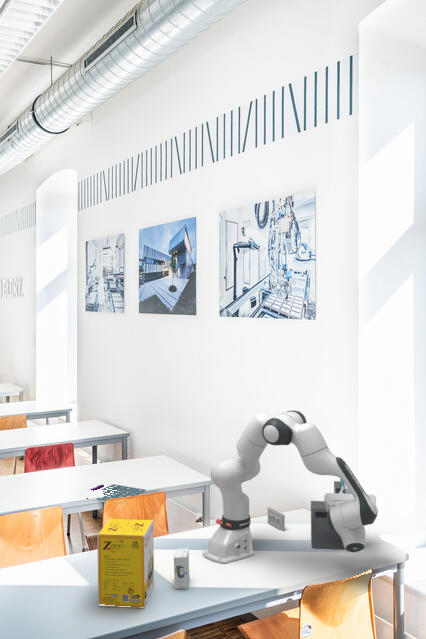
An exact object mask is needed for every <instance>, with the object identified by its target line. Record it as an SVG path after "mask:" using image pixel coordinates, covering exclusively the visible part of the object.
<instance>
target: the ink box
mask: <svg viewBox="0 0 426 639" xmlns="http://www.w3.org/2000/svg"><path fill="white" fill-rule="evenodd" d="M189 554H190V553H189V548H176V549H175V553H174V556H173V568H174V570H173V571H174V573H173V575H174V577H173V578H174V589H175V590H177V589H178V590H179V589H185V590H186V589H189V585H190V558H189V557H190V555H189Z"/></svg>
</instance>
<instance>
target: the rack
mask: <svg viewBox="0 0 426 639" xmlns="http://www.w3.org/2000/svg"><path fill="white" fill-rule="evenodd" d="M340 491H341V484H340V480H339V481H338V480H335V481H333V493H339V492H340ZM343 493H344V494H346V493H345V492H343ZM327 513H328V512H327V510H326V507H325V500H323V501H322V500H310V543H311V544H310V545H311V549H321V550H322V549H323V550H340V551H341V550H342V551H347V550H346V549H345V548H344V545H343V541H342V539H341V537H340V536H339V535H337V534H336V533H334V532H333V531H332V530H331V529H330V527H329V525H328V521H327Z"/></svg>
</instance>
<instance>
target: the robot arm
mask: <svg viewBox="0 0 426 639" xmlns="http://www.w3.org/2000/svg"><path fill="white" fill-rule="evenodd" d="M268 444H269V445H271V446H290V444H293V445H294V446H295V447H296V449H297V451H298V453H299V455H300V459H301V460H302V462H303V465H304V467H305V468H306V469H307V471H309V472H310V473H311V474H315V475H319V476H333V477H337V478H339V479H340V478H341V479H342V480H343V481H344V483H345V484H346V486H347V487H348V489H349V491H350V492H351V494H344V493H343V492H345V486H342V487H341V491H340V492H339V493H334V492H326V493H325V494H324V498H323V499H324V500H323V501H325V507H326V510H327V512H328V513H327V521H328V525H329V527H330V529H331V530H332V531H333V532H334V533H336V534H337V535H339V536H340V537H341V539H342V541H343V545H344V548H345V549H346V550H345V551H347V552H350V553H357V552H361V551H363V550H364V549H365V547H366V545H367V544H366V543H367V538H366V537H367V536H366V529H365V527H366V526H369V525H373V524H374V522H375V521H376V519H377V516H378V513H379V509H378V507H377V496H375V494H371V493H370V494H369V493H366V491H365V490H364V488H363V487H362V485H361V483H360V482H359V481H358V480H359V479H357V477H356V476H355V474H354V473H353V470H351V468H350V467H349V466H348V464H347V462H346V461H345V460H344V459H343V458H341V457H338V456H336V455H335V454H333V452H332V451H331V450H330V449H329V447H328V444H327V442H326V440H325V438H324V436H323V435H322V433H321V431H320V430H319V427H317V425H315V423H312V422H311V423H310V422H307V418H306V417H305V415H304V414H303V412H300V411H298V410H287V411H285V412H281V413H279V414H277V415H275V416H274V417H273V416H272V415H270V414H269V413H267V412H258V413H256V414H255V416H253V417H252V418H251V420H250V421H249V422H248V423H247V425H246V427H245V428H244V430H243V431H242V433H241V435H240V437H239V439H238V440H237V441H236V450H237V453H236V454H235V455H234V456H233V457H231V458H227V459H224V460H221V461H219V462H218V463H216V464H215V465H213V466H212V468H211V469H210V479H211V482H212V484H214V485H215V487H217V488H218V489H219V491H220V493H221V497H222V516H221V519H220V518H216V520H215V523H216V524H218V525H219V527H218V528H217V529H216V531H215V532H214V533H213V534H212V535H211V537H210V538H209V540H208V546H207V548H206V549H204V550H203V551H202V556H203V557H204V558H206V559H208V560H210V561H213V562H216V563H220V564H228V563H232V562H235V561H239V560H242V559H246V558H249V557H252V556H254V555H255V551H254V546H253V540H252V534H251V533H252V532H251V528H250V527H251V523H252V522H251V521H252V520H251V515H250V498H249V496H248V495H247V494H246V493H245V492H244V491H243V488H242V484H243V483H245V482H248V481H251V480H252V479H254V478H256V477H257V476H258V475H259V473H260V471H261V463H260V459H261V456H262V454H263V453H264V451H265V450H266V448H267V446H268Z"/></svg>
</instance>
